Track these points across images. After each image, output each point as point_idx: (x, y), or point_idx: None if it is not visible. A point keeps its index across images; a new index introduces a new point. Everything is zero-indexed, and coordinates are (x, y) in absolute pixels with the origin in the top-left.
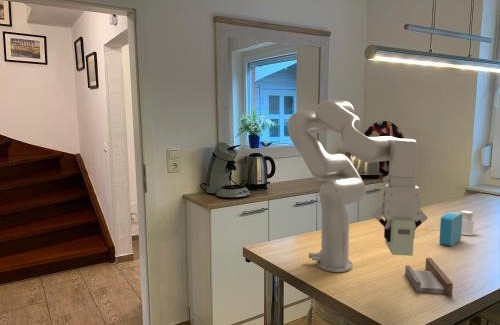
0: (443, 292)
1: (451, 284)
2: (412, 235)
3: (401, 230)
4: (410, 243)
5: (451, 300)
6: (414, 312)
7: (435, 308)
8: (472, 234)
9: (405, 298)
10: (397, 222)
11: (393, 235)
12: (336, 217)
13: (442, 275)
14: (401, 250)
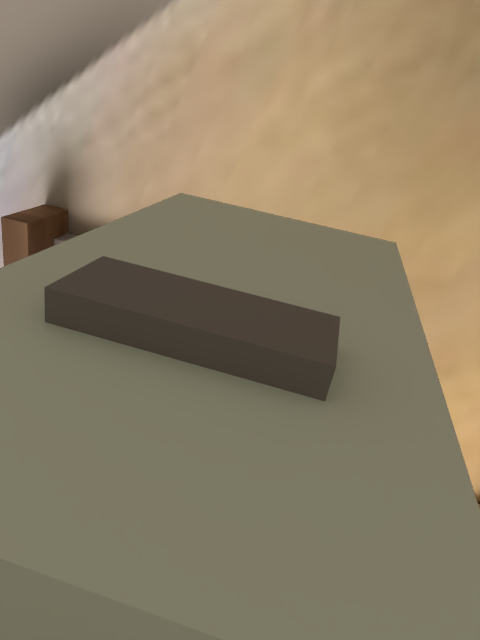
0: (69, 236)
1: (10, 217)
2: (58, 259)
3: (265, 336)
4: (153, 229)
5: (60, 165)
6: (295, 45)
7: (165, 87)
8: None
9: (271, 206)
10: (365, 619)
11: (429, 351)
12: None
13: None
14: (291, 233)
